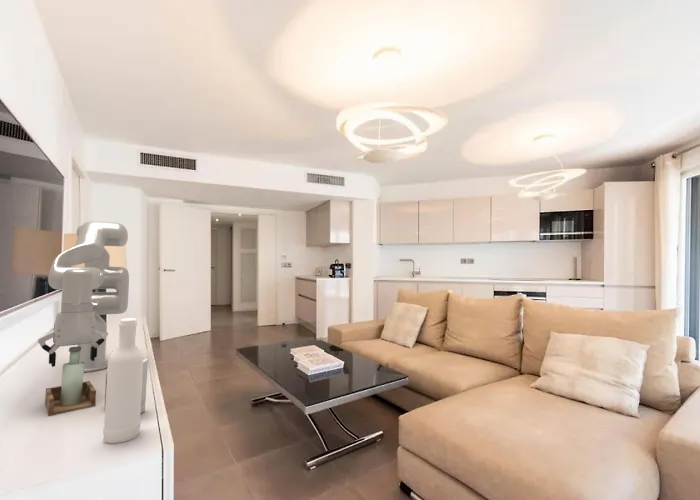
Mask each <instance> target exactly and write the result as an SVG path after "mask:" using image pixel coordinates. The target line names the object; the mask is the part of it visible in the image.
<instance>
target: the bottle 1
mask: <svg viewBox="0 0 700 500" xmlns="http://www.w3.org/2000/svg"><path fill="white" fill-rule="evenodd" d="M80 351H81V347H79V346H78V345H76V346H69V348H68V352H69V360H68V362H65V363H63V365H62V374H61V395H60V406H72V405H76V404H79V403H80V402H81V397H82V385H83V382H84V373H85V372H84V362H79V355H80Z"/></svg>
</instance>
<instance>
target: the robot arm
mask: <svg viewBox="0 0 700 500" xmlns="http://www.w3.org/2000/svg"><path fill="white" fill-rule="evenodd" d="M76 236H77V237H76V243H75V245H74V246H72V247H69V248H68V249H66V250H64V251H63V252H61V253H59V254H58V255H57V256H56V257H55V258H54V260H53V262H52V264H51V266H50V269H49V273H48V278H47V281H48V285H49V287H50V288H51V289H54V290H58V291H59V290H60V291H61V300H60V301H61V305H60V312H57V313H56V315H55V320H54V321H55V322H54V327H53V332H51V333H47V334H46V335H45V336H42V337H41V338H38V339H37V343H38V344H39V345H40V347H41V349H42V350H44V351H45V352H47V353H48V365H51V367H52V368H54V367H55V366H56V359H57V353H56V351H57V350H58V349H59V348H60V347H68V346H69V347H71V346H79V347H81V351H80V355H79V362H84V373H88V372H89V373H91V372H95V371H101V370H104V369H106V368H107V369H108V361H106V349H107V348H106V345H107V337H108V335H109V332H108V329H107V327H108V326H107V325H108V324H107V321H106V320H104V318H102V317H101V316H103V315H104V316H105V315H121V314H124V313H125V312H127V310H128V305H129V289H130V274H129V270H128V269H127V268H126V267H123V266H110V252H108V250H107V249H106V248H105V247H124V246H125V245H126V244H127V242H128V239H129V235H128V230H127V228H126V227H125V225H123V224H122V223H119V222H111V221H110V222H108V221H96V220H95V221H93V220H91V221H86V222H85V223H83V224H82V225H80V226H78V227H77V229H76ZM81 264H84V265H83V266H78V265H81ZM96 289H97V290H105V289H106V290H109V289H110V290H112V289H113V290H115V291H93V290H96ZM51 339H52V341H53V344H52V345H51V346H49V345H47V343H46V342H47V341H49V340H51Z"/></svg>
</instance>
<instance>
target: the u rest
mask: <svg viewBox="0 0 700 500" xmlns="http://www.w3.org/2000/svg"><path fill="white" fill-rule="evenodd" d="M60 395H61V386H54V387H48V388H47V387H46V388H45V397H44V406H45V409H46V412H47V416H48V417H51V416H54V415H55V416H56V415H60V414H64V413H68V412H74V411H78V410H81V409H87V408H91V407H95V406H96V397H97V390H96V388H95V387H94V385H93V384H92V383H91V381H90V380H87V381H83V385H82V397H81V402H80V403H79V404H76V405H72V406H60Z"/></svg>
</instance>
